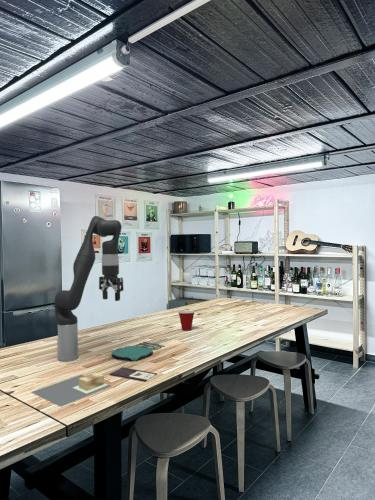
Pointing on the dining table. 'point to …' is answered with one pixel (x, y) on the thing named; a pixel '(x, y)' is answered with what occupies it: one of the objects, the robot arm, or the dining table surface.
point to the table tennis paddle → (135, 351)
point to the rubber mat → (66, 391)
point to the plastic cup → (186, 319)
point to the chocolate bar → (133, 374)
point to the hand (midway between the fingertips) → (111, 300)
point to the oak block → (91, 381)
